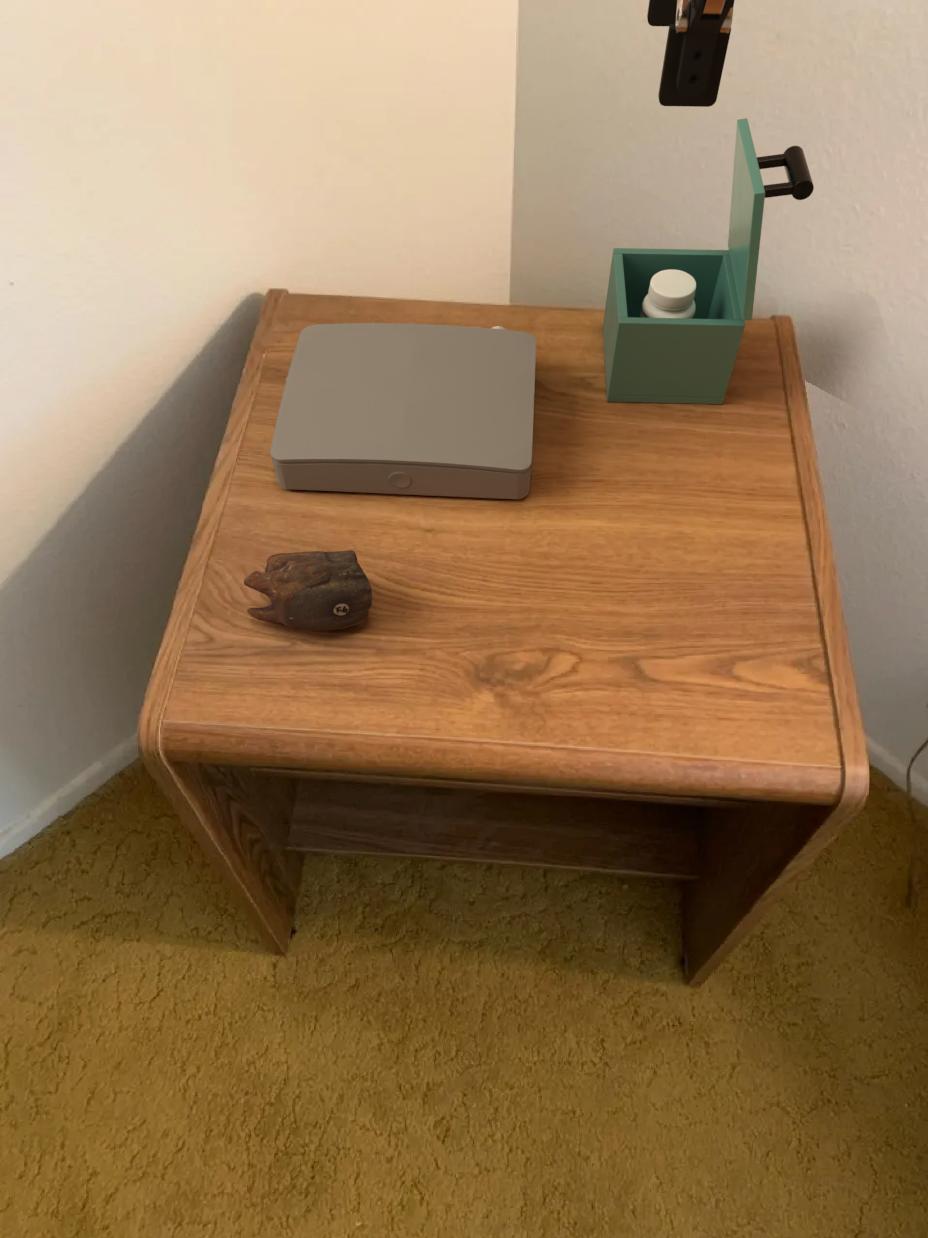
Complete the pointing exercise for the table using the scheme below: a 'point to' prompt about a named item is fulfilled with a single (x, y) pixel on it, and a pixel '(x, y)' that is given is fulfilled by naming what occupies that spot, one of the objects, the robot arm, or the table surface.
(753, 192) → the lid
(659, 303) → the pill bottle
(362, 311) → the table surface
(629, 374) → the green box
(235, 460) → the table surface
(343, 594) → the dark brown rock
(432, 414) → the electronic device
